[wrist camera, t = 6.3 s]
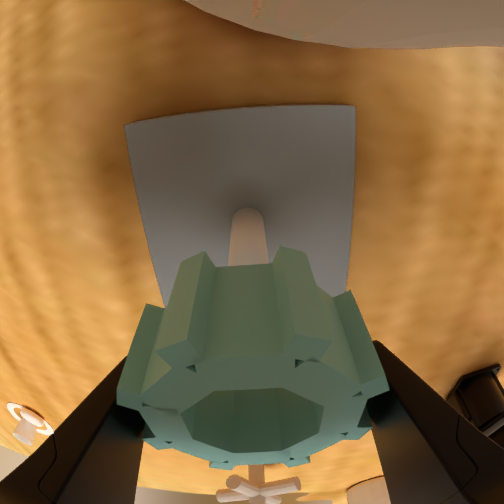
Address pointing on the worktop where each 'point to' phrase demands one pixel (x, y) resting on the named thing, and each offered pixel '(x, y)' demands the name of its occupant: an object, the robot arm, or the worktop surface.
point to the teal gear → (251, 364)
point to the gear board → (247, 187)
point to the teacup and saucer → (28, 424)
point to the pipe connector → (257, 488)
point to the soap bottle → (369, 492)
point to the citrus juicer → (370, 21)
